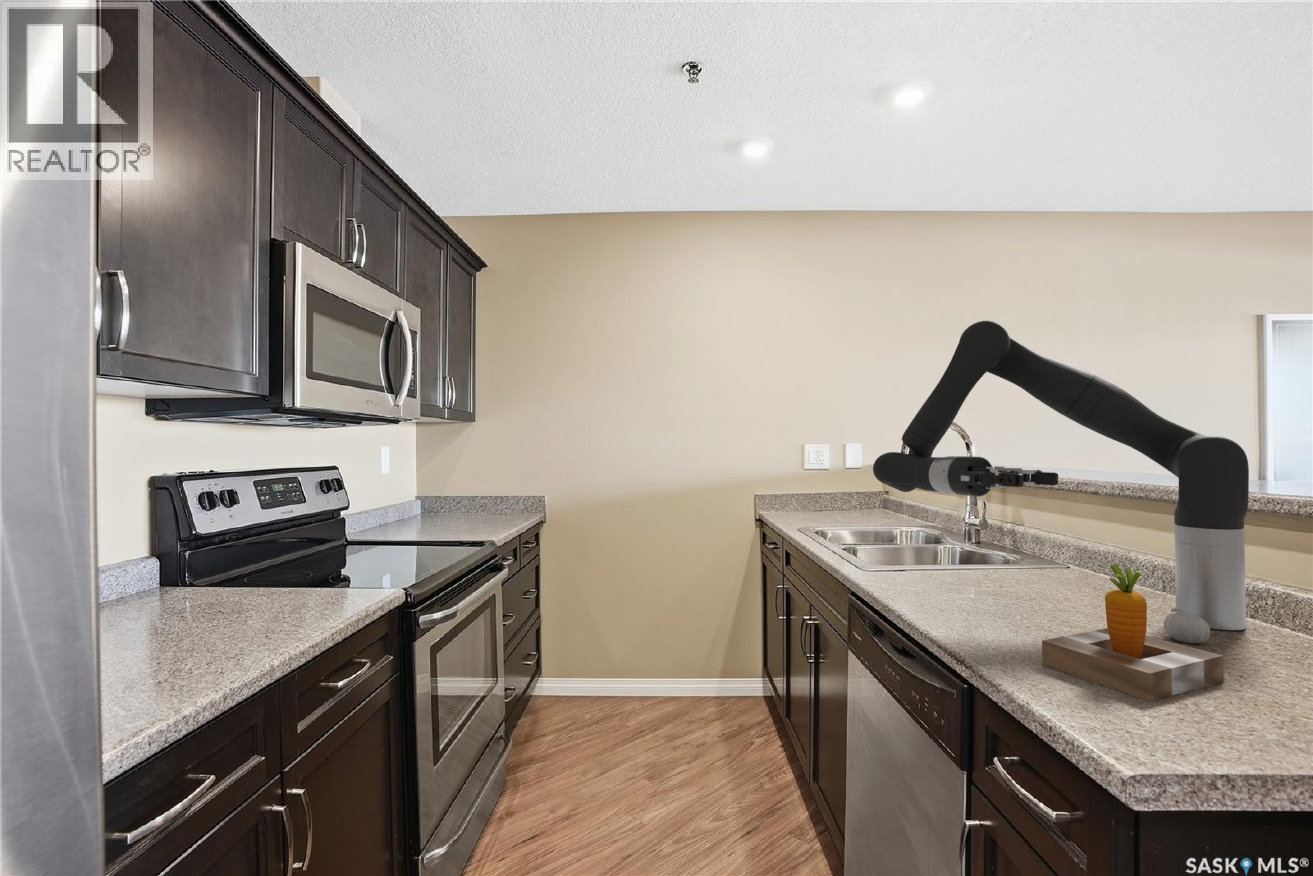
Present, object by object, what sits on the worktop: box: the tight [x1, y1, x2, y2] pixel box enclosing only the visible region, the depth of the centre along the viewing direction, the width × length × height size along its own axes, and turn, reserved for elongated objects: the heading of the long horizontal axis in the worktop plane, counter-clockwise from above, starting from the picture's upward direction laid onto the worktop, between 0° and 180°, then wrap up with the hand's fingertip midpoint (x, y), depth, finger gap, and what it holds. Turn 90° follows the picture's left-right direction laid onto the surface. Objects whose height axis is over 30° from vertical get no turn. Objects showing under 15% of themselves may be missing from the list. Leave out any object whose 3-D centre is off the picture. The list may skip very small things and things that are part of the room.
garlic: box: [1163, 607, 1211, 644], centre depth 100 cm, size 6×5×5 cm
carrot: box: [1104, 563, 1148, 659], centre depth 87 cm, size 5×5×15 cm
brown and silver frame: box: [1041, 627, 1225, 702], centre depth 86 cm, size 16×14×4 cm
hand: (1039, 479), depth 105 cm, fingers open, 8 cm apart
